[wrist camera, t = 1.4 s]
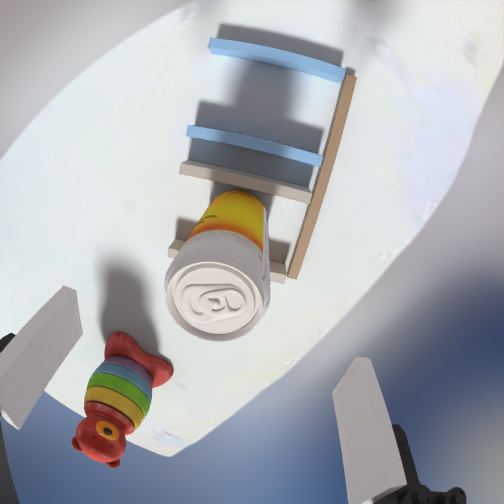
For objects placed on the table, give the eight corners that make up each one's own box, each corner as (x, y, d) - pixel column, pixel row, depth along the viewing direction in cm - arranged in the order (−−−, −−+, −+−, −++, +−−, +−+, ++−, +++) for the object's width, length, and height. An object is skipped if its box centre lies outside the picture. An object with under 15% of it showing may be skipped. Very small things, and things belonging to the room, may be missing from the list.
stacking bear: (179, 368, 38) (148, 474, 22) (148, 392, 42) (118, 479, 26) (118, 326, 36) (61, 426, 19) (95, 356, 39) (49, 440, 23)
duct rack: (174, 246, 30) (167, 256, 28) (215, 44, 21) (210, 37, 19) (295, 274, 31) (297, 286, 29) (353, 79, 22) (361, 75, 20)
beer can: (201, 195, 28) (143, 263, 14) (261, 183, 27) (259, 244, 13) (215, 250, 30) (179, 349, 16) (272, 240, 29) (278, 340, 16)
